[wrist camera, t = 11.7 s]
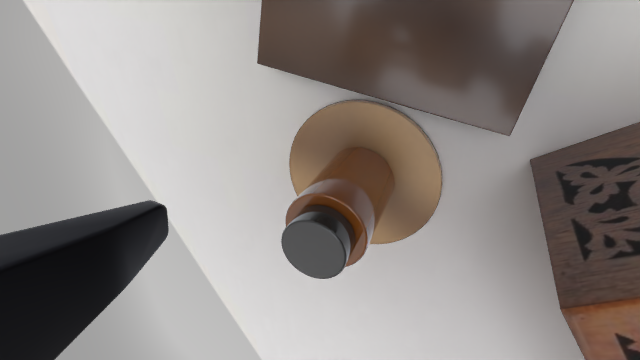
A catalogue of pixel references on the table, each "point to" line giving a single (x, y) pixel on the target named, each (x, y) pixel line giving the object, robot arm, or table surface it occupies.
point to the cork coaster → (387, 141)
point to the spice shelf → (419, 51)
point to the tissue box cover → (595, 239)
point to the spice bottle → (338, 213)
